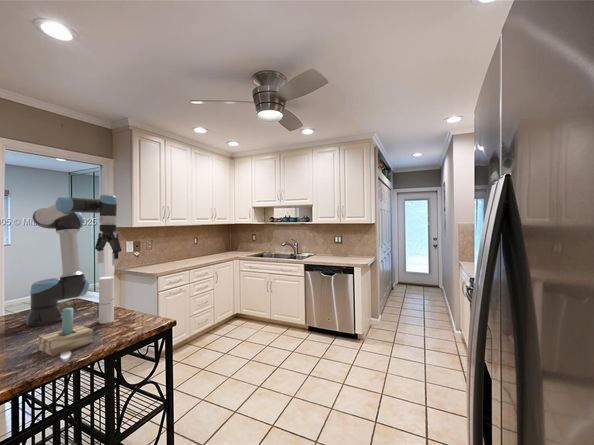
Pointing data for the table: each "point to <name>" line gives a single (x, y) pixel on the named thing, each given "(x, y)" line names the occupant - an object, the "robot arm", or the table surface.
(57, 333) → the block
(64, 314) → the pin
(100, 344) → the table surface
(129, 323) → the table surface
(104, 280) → the cylindrical container
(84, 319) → the table surface
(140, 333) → the table surface
